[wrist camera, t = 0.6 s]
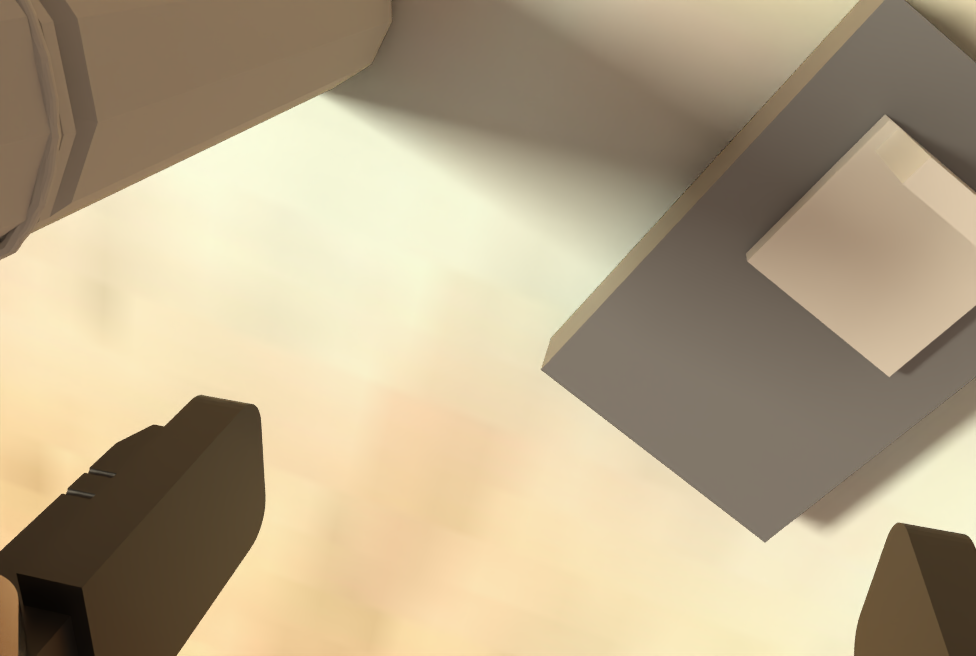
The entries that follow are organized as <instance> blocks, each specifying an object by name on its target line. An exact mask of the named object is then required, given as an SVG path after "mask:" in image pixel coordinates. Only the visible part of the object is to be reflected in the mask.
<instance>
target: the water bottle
mask: <svg viewBox="0 0 976 656" xmlns="http://www.w3.org/2000/svg"><path fill="white" fill-rule="evenodd" d="M391 22H392V6H391V0H0V260H1V259H3V258H5V257H7V256H9V255H11V254H14V253H16V252H17V250H18V249H19V248H20V246H21V245H22V243H23V241H24V240H25V239H26V238H27V237H28V236H29V234H30V233H32V232H35V231H37V230H39V229H41V228H43V227H45V226H47V225H49V224H51V223H53V222H55V221H57V220H60V219H62V218H64V217H66V216H68V215H70V214H72V213H74V212H76V211H78V210H80V209H82V208H85V207H87V206H89V205H91V204H93V203H95V202H97V201H99V200H101V199H103V198H105V197H107V196H110V195H112V194H114V193H116V192H118V191H120V190H122V189H124V188H126V187H128V186H130V185H132V184H135V183H137V182H139V181H141V180H143V179H145V178H147V177H149V176H151V175H153V174H155V173H157V172H160V171H162V170H164V169H166V168H168V167H170V166H172V165H174V164H176V163H178V162H180V161H182V160H185V159H187V158H189V157H191V156H193V155H195V154H197V153H199V152H201V151H203V150H205V149H207V148H210V147H212V146H214V145H216V144H218V143H220V142H222V141H224V140H226V139H228V138H230V137H232V136H235V135H237V134H239V133H241V132H243V131H245V130H247V129H249V128H251V127H253V126H255V125H258V124H260V123H262V122H264V121H266V120H268V119H270V118H272V117H274V116H276V115H278V114H280V113H283V112H285V111H287V110H289V109H291V108H293V107H295V106H297V105H299V104H301V103H303V102H305V101H308V100H310V99H312V98H314V97H316V96H318V95H320V94H322V93H324V92H326V91H328V90H330V89H333V88H335V87H336V86H338V85H339V84H341V83H343V82H344V81H346V80H347V79H349V78H350V77H352V76H354V75H355V74H357V73H358V72H360V71H362V70H363V69H365V68H366V67H368V66H370V65H371V64H372V62H373V60H374V58H375V56H376V54H377V52H378V50H379V48H380V46H381V43H382V41H383V39H384V37H385V35H386V33H387V31H388V29H389V27H390V25H391Z"/></svg>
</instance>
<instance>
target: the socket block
mask: <svg viewBox="0 0 976 656" xmlns="http://www.w3.org/2000/svg"><path fill="white" fill-rule="evenodd" d="M884 115H886V116H888V117H889V118H890V119H891V120H892V121H893V122H895V123H896V124H897V125H898V126H899V127H900V128H902V129H903V130H904V131H905V132H906V133H907V134H909V135H910V136H911V137H912V138H913V139H914V140H916V141H917V142H918V143H919V144H920V145H921V146H923V147H924V148H925V149H926V150H927V151H928V152H930V153H931V154H932V155H933V156H934V157H935V158H937V159H938V160H939V161H940V162H941V163H942V164H944V165H945V166H946V167H947V168H948V169H949V170H951V171H952V172H953V173H954V174H955V175H956V176H958V177H959V178H960V179H961V180H962V181H963V182H965V183H966V184H967V185H968V186H969V187H970V188H972V189H973V190H974V191H975V192H976V62H974V61H973V60H972V59H971V58H970V57H969V56H968V55H967V54H965V53H964V52H963V51H962V50H961V49H960V48H959V47H957V46H956V45H955V44H954V43H953V42H952V41H951V40H949V39H948V38H947V37H946V36H945V35H944V34H943V33H942V32H940V31H939V30H938V29H937V28H936V27H935V26H934V25H932V24H931V23H930V22H929V21H928V20H927V19H926V18H924V17H923V16H922V15H921V14H920V13H919V12H918V11H917V10H915V9H914V8H913V7H912V6H911V5H910V4H909V3H907V2H906V1H905V0H860V1H859V2H858V3H857V4H856V5H855V6H854V8H853V9H852V10H851V11H850V12H849V13H848V14H847V15H846V16H845V17H844V19H843V20H842V21H841V22H840V23H839V24H838V25H837V26H836V27H835V28H834V29H833V31H832V32H831V33H830V34H829V35H828V36H827V37H826V38H825V39H824V40H823V41H822V43H821V44H820V45H819V46H818V47H817V48H816V49H815V50H814V51H813V52H812V53H811V55H810V56H809V57H808V58H807V59H806V60H805V61H804V62H803V63H802V64H801V65H800V67H799V68H798V69H797V70H796V71H795V72H794V73H793V74H792V75H791V76H790V78H789V79H788V80H787V81H786V82H785V83H784V84H783V85H782V86H781V87H780V88H779V90H778V91H777V92H776V93H775V94H774V95H773V96H772V97H771V98H770V99H769V100H768V102H767V103H766V104H765V105H764V106H763V107H762V108H761V109H760V110H759V111H758V112H757V114H756V115H755V116H754V117H753V118H752V119H751V120H750V121H749V122H748V123H747V124H746V126H745V127H744V128H743V129H742V130H741V131H740V132H739V133H738V134H737V135H736V137H735V138H734V139H733V140H732V141H731V142H730V143H729V144H728V145H727V146H726V147H725V149H724V150H723V151H722V152H721V153H720V154H719V155H718V156H717V157H716V158H715V159H714V161H713V162H712V163H711V164H710V165H709V166H708V167H707V168H706V169H705V170H704V171H703V173H702V174H701V175H700V176H699V177H698V178H697V179H696V180H695V181H694V182H693V183H692V185H691V186H690V187H689V188H688V189H687V190H686V191H685V192H684V193H683V194H682V196H681V197H680V198H679V199H678V200H677V201H676V202H675V203H674V204H673V205H672V206H671V208H670V209H669V210H668V211H667V212H666V213H665V214H664V215H663V216H662V217H661V218H660V220H659V221H658V222H657V223H656V224H655V225H654V226H653V227H652V228H651V229H650V230H649V232H648V233H647V234H646V235H645V236H644V237H643V238H642V239H641V240H640V241H639V243H638V244H637V245H636V246H635V247H634V248H633V249H632V250H631V251H630V252H629V253H628V255H627V256H626V257H625V258H624V259H623V260H622V261H621V262H620V263H619V264H618V265H617V267H616V268H615V269H614V270H613V271H612V272H611V273H610V274H609V275H608V276H607V277H606V279H605V280H604V281H603V282H602V283H601V284H600V285H599V286H598V287H597V288H596V289H595V291H594V292H593V293H592V294H591V295H590V296H589V297H588V298H587V299H586V300H585V302H584V303H583V304H582V305H581V306H580V307H579V308H578V309H577V310H576V311H575V312H574V314H573V315H572V316H571V317H570V318H569V319H568V320H567V321H566V322H565V323H564V324H563V326H562V327H561V328H560V329H559V330H558V331H557V332H556V333H555V334H554V335H553V336H552V338H551V339H550V343H549V346H548V349H547V352H546V355H545V358H544V362H543V365H542V368H541V370H542V371H543V372H544V373H546V374H547V375H548V376H550V377H551V378H552V379H554V380H555V381H556V382H557V383H559V384H560V385H561V386H563V387H564V388H565V389H567V390H568V391H569V392H570V393H572V394H573V395H574V396H576V397H577V398H578V399H580V400H581V401H582V402H583V403H585V404H586V405H587V406H589V407H590V408H591V409H592V410H594V411H595V412H596V413H598V414H599V415H600V416H602V417H603V418H604V419H605V420H607V421H608V422H609V423H611V424H612V425H613V426H615V427H616V428H617V429H618V430H620V431H621V432H622V433H624V434H625V435H626V436H628V437H629V438H630V439H631V440H633V441H634V442H635V443H637V444H638V445H639V446H640V447H642V448H643V449H644V450H646V451H647V452H648V453H650V454H651V455H652V456H653V457H655V458H656V459H657V460H659V461H660V462H661V463H663V464H664V465H665V466H666V467H668V468H669V469H670V470H672V471H673V472H674V473H675V474H677V475H678V476H679V477H681V478H682V479H683V480H685V481H686V482H687V483H688V484H690V485H691V486H692V487H694V488H695V489H696V490H698V491H699V492H700V493H701V494H703V495H704V496H705V497H707V498H708V499H709V500H711V501H712V502H713V503H714V504H716V505H717V506H718V507H720V508H721V509H722V510H723V511H725V512H726V513H727V514H729V515H730V516H731V517H733V518H734V519H735V520H736V521H738V522H739V523H740V524H742V525H743V526H744V527H746V528H747V529H748V530H749V531H751V532H752V533H753V534H755V535H756V536H757V537H758V538H760V539H761V540H762V541H764V542H766V541H768V540H769V539H770V538H771V537H773V536H774V535H775V534H776V533H778V532H779V531H780V530H782V529H783V528H784V527H785V526H787V525H788V524H789V523H790V522H792V521H793V520H794V519H796V518H797V517H798V516H799V515H801V514H802V513H803V512H804V511H806V510H807V509H808V508H810V507H811V506H812V505H813V504H815V503H816V502H817V501H818V500H820V499H821V498H822V497H824V496H825V495H826V494H827V493H829V492H830V491H831V490H832V489H834V488H835V487H836V486H838V485H839V484H840V483H841V482H843V481H844V480H845V479H847V478H848V477H849V476H850V475H852V474H853V473H854V472H855V471H857V470H858V469H859V468H861V467H862V466H863V465H864V464H866V463H867V462H868V461H869V460H871V459H872V458H873V457H875V456H876V455H877V454H878V453H880V452H881V451H882V450H883V449H885V448H886V447H887V446H889V445H890V444H891V443H892V442H894V441H895V440H896V439H897V438H899V437H900V436H901V435H903V434H904V433H905V432H906V431H908V430H909V429H910V428H911V427H913V426H914V425H915V424H917V423H918V422H919V421H920V420H922V419H923V418H924V417H925V416H927V415H928V414H929V413H931V412H932V411H933V410H934V409H936V408H937V407H938V406H940V405H941V404H942V403H943V402H945V401H946V400H947V399H948V398H950V397H951V396H952V395H954V394H955V393H956V392H957V391H959V390H960V389H961V388H962V387H964V386H965V385H966V384H968V383H969V382H970V381H971V380H973V379H974V378H975V377H976V306H974V307H973V308H972V309H971V310H970V311H968V312H967V313H966V314H965V315H964V316H962V317H961V318H960V319H959V320H958V321H956V322H955V323H954V324H953V325H951V326H950V327H949V328H948V329H947V330H945V331H944V332H943V333H942V334H941V335H939V336H938V337H937V338H936V339H935V340H933V341H932V342H931V343H930V344H929V345H927V346H926V347H925V348H924V349H923V350H921V351H920V352H919V353H918V354H916V355H915V356H914V357H913V358H912V359H910V360H909V361H908V362H907V363H906V364H904V365H903V366H902V367H901V368H900V369H898V370H897V371H896V372H895V373H894V374H892V375H891V376H890V377H889V376H887V375H886V374H885V373H884V372H882V371H881V370H880V369H879V368H878V367H876V366H875V365H874V364H873V363H871V362H870V361H869V360H868V359H866V358H865V357H864V356H863V355H862V354H860V353H859V352H858V351H857V350H855V349H854V348H853V347H852V346H850V345H849V344H848V343H847V342H846V341H844V340H843V339H842V338H841V337H839V336H838V335H837V334H836V333H835V332H833V331H832V330H831V329H830V328H828V327H827V326H826V325H825V324H823V323H822V322H821V321H820V320H819V319H817V318H816V317H815V316H814V315H812V314H811V313H810V312H809V311H808V310H806V309H805V308H804V307H803V306H801V305H800V304H799V303H798V302H796V301H795V300H794V299H793V298H792V297H790V296H789V295H788V294H787V293H785V292H784V291H783V290H782V289H781V288H779V287H778V286H777V285H776V284H774V283H773V282H772V281H771V280H769V279H768V278H767V277H766V276H765V275H763V274H762V273H761V272H760V271H758V270H757V269H756V268H755V267H754V266H752V265H751V264H750V263H749V262H747V258H746V253H747V252H748V251H749V250H750V249H751V248H752V247H753V246H754V245H755V244H756V243H757V242H758V241H759V240H760V239H761V238H762V237H763V236H764V235H765V234H766V233H767V232H768V231H769V230H770V229H771V228H772V227H773V226H774V225H775V224H776V223H777V222H778V221H779V220H780V219H781V218H782V217H783V216H784V215H785V214H786V213H787V212H788V211H789V210H790V209H791V208H792V207H793V206H794V205H795V204H796V203H797V202H798V201H799V200H800V199H801V198H802V197H803V196H804V195H805V194H806V193H807V192H808V191H809V190H810V189H811V188H812V187H813V186H814V185H815V184H816V183H817V182H818V181H819V180H820V179H821V178H822V177H823V176H824V175H825V174H826V173H827V172H828V171H829V170H830V169H831V168H832V167H833V166H834V165H835V164H836V163H837V162H838V161H839V160H840V159H841V158H842V157H843V156H844V155H845V154H846V153H847V152H848V151H849V150H850V149H851V148H852V147H853V146H854V145H855V144H856V143H857V142H858V141H859V140H860V139H861V138H862V137H863V136H864V135H865V134H866V133H867V132H868V131H869V130H870V129H871V128H872V127H873V126H874V125H875V124H876V123H877V122H878V121H879V120H880V119H881V118H882V117H883V116H884Z"/></svg>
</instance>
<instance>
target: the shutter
mask: <svg viewBox="0 0 976 656" xmlns="http://www.w3.org/2000/svg"><path fill="white" fill-rule="evenodd" d="M746 258H747V262H749V263H750V264H751V265H752V266H754V267H755V268H756V269H757V270H758V271H760V272H761V273H762V274H763V275H765V276H766V277H767V278H768V279H769V280H771V281H772V282H773V283H774V284H776V285H777V286H778V287H779V288H781V289H782V290H783V291H784V292H785V293H787V294H788V295H789V296H790V297H792V298H793V299H794V300H795V301H796V302H798V303H799V304H800V305H801V306H803V307H804V308H805V309H806V310H808V311H809V312H810V313H811V314H812V315H814V316H815V317H816V318H817V319H819V320H820V321H821V322H822V323H823V324H825V325H826V326H827V327H828V328H830V329H831V330H832V331H833V332H835V333H836V334H837V335H838V336H839V337H841V338H842V339H843V340H844V341H846V342H847V343H848V344H849V345H850V346H852V347H853V348H854V349H855V350H857V351H858V352H859V353H860V354H862V355H863V356H864V357H865V358H866V359H868V360H869V361H870V362H871V363H873V364H874V365H875V366H876V367H878V368H879V369H880V370H881V371H882V372H884V373H885V374H886V375H887V376H889V377H890V376H891V375H892V374H894V373H895V372H896V371H897V370H898V369H900V368H901V367H902V366H903V365H904V364H906V363H907V362H908V361H909V360H910V359H912V358H913V357H914V356H915V355H916V354H918V353H919V352H920V351H921V350H923V349H924V348H925V347H926V346H927V345H929V344H930V343H931V342H932V341H933V340H935V339H936V338H937V337H938V336H939V335H941V334H942V333H943V332H944V331H945V330H947V329H948V328H949V327H950V326H951V325H953V324H954V323H955V322H956V321H958V320H959V319H960V318H961V317H962V316H964V315H965V314H966V313H967V312H968V311H970V310H971V309H972V308H973V307H974V306H976V192H975V191H974V190H973V189H972V188H970V187H969V186H968V185H967V184H966V183H965V182H963V181H962V180H961V179H960V178H959V177H958V176H956V175H955V174H954V173H953V172H952V171H951V170H949V169H948V168H947V167H946V166H945V165H944V164H942V163H941V162H940V161H939V160H938V159H937V158H935V157H934V156H933V155H932V154H931V153H930V152H928V151H927V150H926V149H925V148H924V147H923V146H921V145H920V144H919V143H918V142H917V141H916V140H914V139H913V138H912V137H911V136H910V135H909V134H907V133H906V132H905V131H904V130H903V129H902V128H900V127H899V126H898V125H897V124H896V123H895V122H893V121H892V120H891V119H890V118H889V117H888V116H886V115H884V116H883V117H882V118H881V119H880V120H879V121H878V122H877V123H876V124H875V125H874V126H873V127H872V128H871V129H870V130H869V131H868V132H867V133H866V134H865V135H864V136H863V137H862V138H861V139H860V140H859V141H858V142H857V143H856V144H855V145H854V146H853V147H852V148H851V149H850V150H849V151H848V152H847V153H846V154H845V155H844V156H843V157H842V158H841V159H840V160H839V161H838V162H837V163H836V164H835V165H834V166H833V167H832V168H831V169H830V170H829V171H828V172H827V173H826V174H825V175H824V176H823V177H822V178H821V179H820V180H819V181H818V182H817V183H816V184H815V185H814V186H813V187H812V188H811V189H810V190H809V191H808V192H807V193H806V194H805V195H804V196H803V197H802V198H801V199H800V200H799V201H798V202H797V203H796V204H795V205H794V206H793V207H792V208H791V209H790V210H789V211H788V212H787V213H786V214H785V215H784V216H783V217H782V218H781V219H780V220H779V221H778V222H777V223H776V224H775V225H774V226H773V227H772V228H771V229H770V230H769V231H768V232H767V233H766V234H765V235H764V236H763V237H762V238H761V239H760V240H759V241H758V242H757V243H756V244H755V245H754V246H753V247H752V248H751V249H750V250H749V251H748V252H747V253H746Z"/></svg>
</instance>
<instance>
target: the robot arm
mask: <svg viewBox="0 0 976 656" xmlns="http://www.w3.org/2000/svg"><path fill="white" fill-rule="evenodd" d="M264 510H265V481H264V464H263V446H262V429H261V417H260V413H259V410H258V408H257V407H256V406H255V405H254V404H248V403H243V402H237V401H231V400H226V399H220V398H215V397H209V396H204V395H199V396H196V397H194V398H193V399H192V400H191V401H190V402H189V403H188V404H187V405H186V406H185V407H184V408H183V409H182V410H181V411H180V412H179V413H178V414H177V415H176V416H175V417H174V418H173V419H172V420H171V421H170V422H168V423H167V424H166V425H165V426H164V427H163V426H158V425H151V426H149V427H147V428H146V429H144V430H142V431H140V432H138V433H136V434H134V435H132V436H130V437H128V438H126V439H124V440H122V441H120V442H118V443H116V444H115V445H114V446H113V447H111V448H110V449H109V450H108V451H107V452H106V453H105V454H104V455H103V456H102V457H101V458H100V459H99V460H98V461H96V462H95V463H94V464H93V465H92V466H91V467H90V470H89V473H88V474H87V473H84V474H83V475H81V476H80V477H79V478H78V479H77V480H76V481H75V482H74V483H73V484H72V485H71V486H70V487H69V488H68V491H67V493H66V494H61V495H60V496H59V497H58V498H57V499H56V500H55V501H54V502H53V503H51V504H50V505H49V506H48V507H47V508H46V509H45V510H44V511H43V512H42V513H41V514H40V515H39V516H38V517H36V518H35V519H34V520H33V521H32V522H31V523H30V524H29V525H28V526H27V527H26V528H25V529H24V530H23V531H21V532H20V533H19V534H18V535H17V536H16V537H15V538H14V539H13V540H12V541H11V542H10V543H9V544H8V545H6V546H5V547H4V548H3V549H2V550H1V551H0V656H177V654H178V653H179V651H180V650H181V648H182V647H183V646H184V644H185V643H186V641H187V640H188V638H189V637H190V635H191V634H192V632H193V631H194V630H195V628H196V627H197V625H198V624H199V622H200V621H201V619H202V618H203V617H204V615H205V614H206V612H207V611H208V609H209V608H210V606H211V605H212V603H213V602H214V601H215V599H216V598H217V596H218V595H219V593H220V592H221V590H222V589H223V588H224V586H225V585H226V583H227V582H228V580H229V579H230V577H231V576H232V574H233V573H234V572H235V570H236V569H237V567H238V566H239V564H240V563H241V561H242V560H243V559H244V557H245V556H246V554H247V553H248V551H249V550H250V548H251V547H252V545H253V544H254V542H255V540H256V538H257V535H258V533H259V530H260V527H261V524H262V521H263V516H264ZM854 656H976V548H975V546H974V544H973V542H972V540H971V539H970V538H969V536H967V535H965V534H959V533H954V532H948V531H943V530H937V529H932V528H926V527H920V526H915V525H909V524H904V523H896V524H895V525H894V526H893V527H892V529H891V530H890V532H889V534H888V537H887V539H886V542H885V545H884V548H883V551H882V554H881V557H880V560H879V562H878V565H877V568H876V571H875V574H874V577H873V580H872V582H871V585H870V588H869V591H868V594H867V597H866V600H865V602H864V605H863V608H862V611H861V614H860V617H859V620H858V624H857V629H856V636H855V647H854Z"/></svg>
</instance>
